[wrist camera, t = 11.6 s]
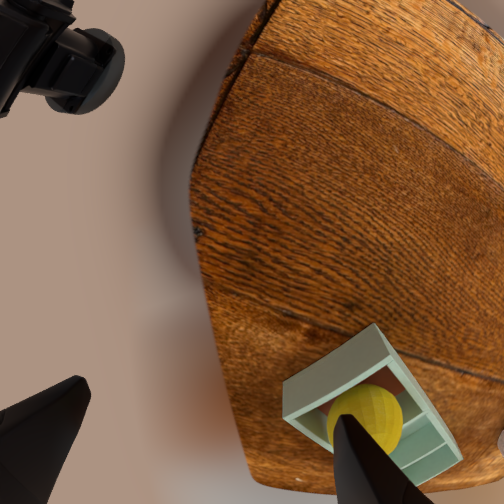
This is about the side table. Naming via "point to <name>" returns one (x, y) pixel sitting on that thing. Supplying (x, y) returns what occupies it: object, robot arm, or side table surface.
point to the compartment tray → (381, 374)
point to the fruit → (370, 414)
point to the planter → (501, 443)
